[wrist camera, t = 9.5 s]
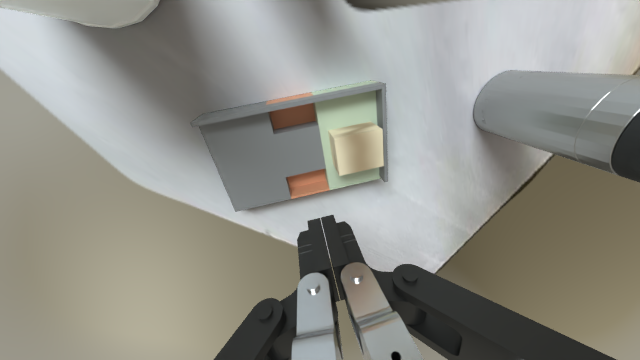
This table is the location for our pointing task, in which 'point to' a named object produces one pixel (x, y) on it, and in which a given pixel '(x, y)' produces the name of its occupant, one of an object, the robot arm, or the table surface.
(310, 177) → the box
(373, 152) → the birch block
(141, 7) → the bottle
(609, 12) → the table surface
